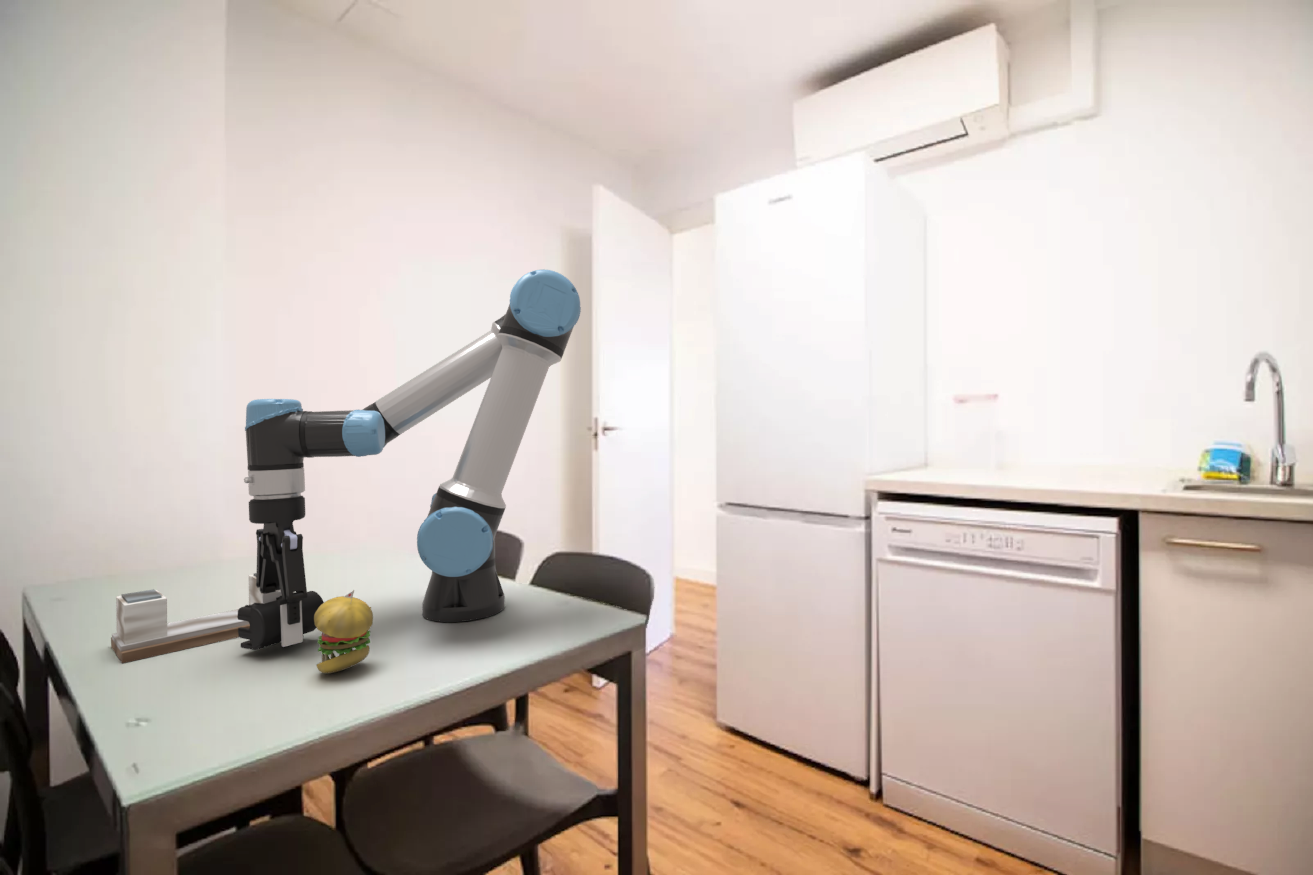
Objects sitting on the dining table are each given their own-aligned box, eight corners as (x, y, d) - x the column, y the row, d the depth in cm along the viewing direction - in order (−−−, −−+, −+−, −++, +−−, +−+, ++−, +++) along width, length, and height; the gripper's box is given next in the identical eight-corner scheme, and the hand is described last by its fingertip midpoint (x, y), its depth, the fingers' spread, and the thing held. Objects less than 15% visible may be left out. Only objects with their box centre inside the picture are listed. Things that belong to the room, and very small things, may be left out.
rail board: (300, 623, 105) (300, 575, 105) (122, 663, 86) (121, 605, 86) (280, 611, 112) (279, 566, 112) (111, 646, 94) (110, 593, 94)
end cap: (264, 654, 86) (263, 609, 86) (235, 648, 89) (234, 604, 89) (326, 632, 95) (325, 591, 95) (298, 628, 98) (297, 588, 98)
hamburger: (351, 658, 88) (351, 579, 88) (385, 666, 85) (384, 584, 85) (302, 677, 81) (301, 592, 81) (336, 687, 78) (335, 598, 78)
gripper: (229, 495, 96) (235, 631, 96) (271, 502, 82) (277, 660, 83) (281, 491, 102) (286, 619, 102) (328, 496, 88) (334, 644, 88)
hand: (282, 637), depth 92 cm, fingers closed on end cap, 8 cm apart
